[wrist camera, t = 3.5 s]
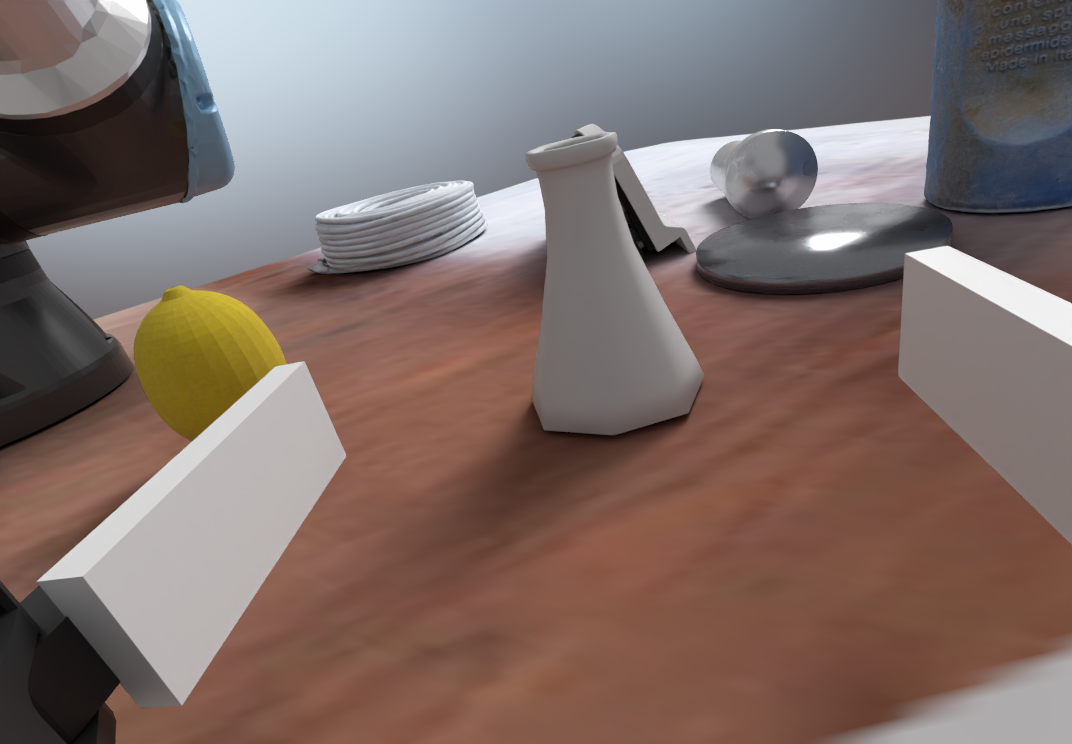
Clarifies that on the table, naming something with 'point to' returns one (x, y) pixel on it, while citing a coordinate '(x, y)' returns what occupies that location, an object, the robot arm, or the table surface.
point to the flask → (601, 306)
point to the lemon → (201, 356)
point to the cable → (398, 227)
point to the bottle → (1001, 106)
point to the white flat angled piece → (641, 206)
